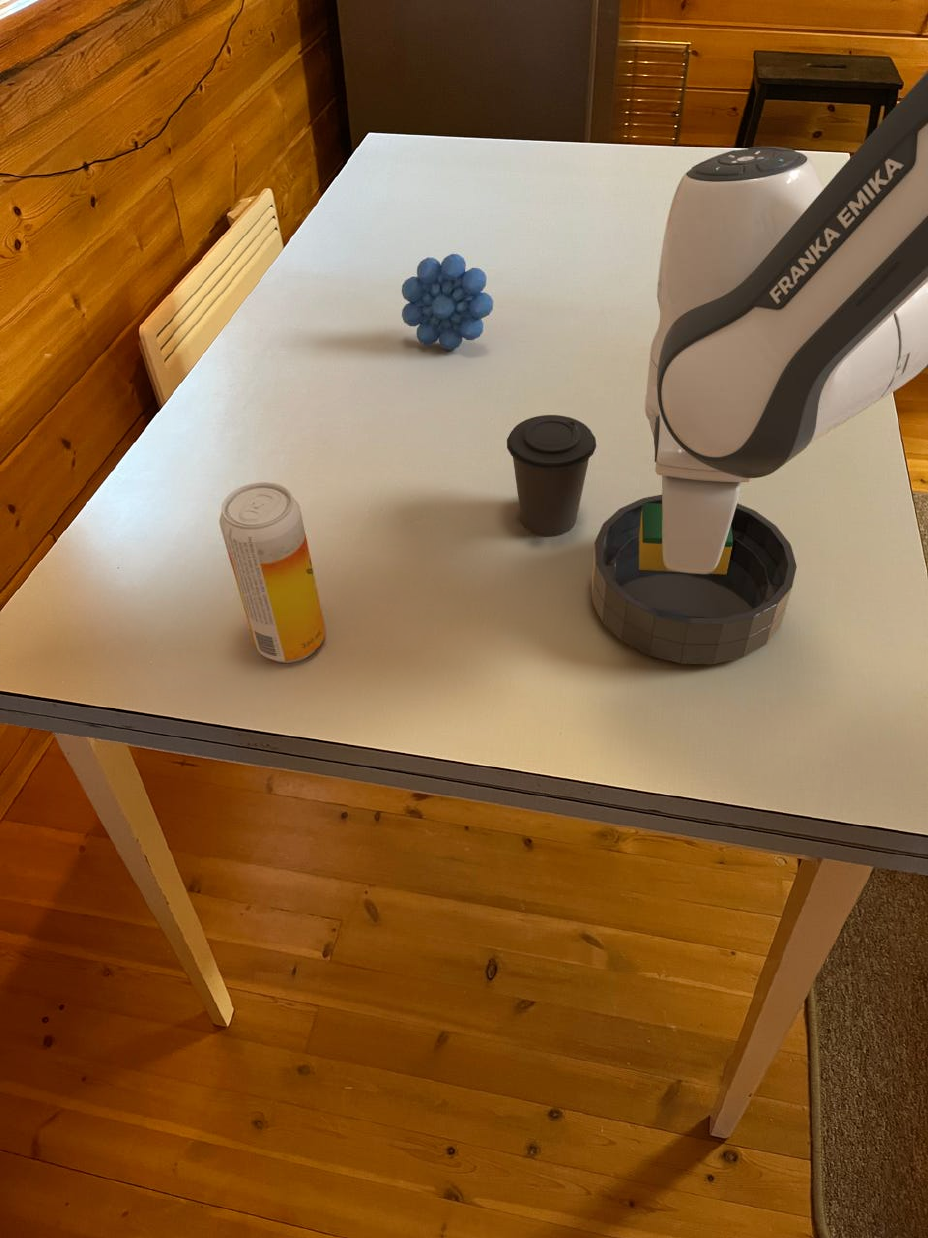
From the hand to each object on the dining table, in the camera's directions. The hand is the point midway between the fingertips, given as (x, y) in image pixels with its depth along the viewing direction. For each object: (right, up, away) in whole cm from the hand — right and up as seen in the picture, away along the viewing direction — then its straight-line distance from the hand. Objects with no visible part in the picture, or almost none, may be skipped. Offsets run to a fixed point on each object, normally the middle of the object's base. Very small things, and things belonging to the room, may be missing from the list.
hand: (685, 539), depth 76 cm
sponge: (0, -1, +1) cm, 2 cm away
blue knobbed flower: (-20, +27, +38) cm, 50 cm away
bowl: (+1, -5, +5) cm, 7 cm away
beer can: (-33, -9, +4) cm, 34 cm away
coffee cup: (-10, +3, +14) cm, 17 cm away
